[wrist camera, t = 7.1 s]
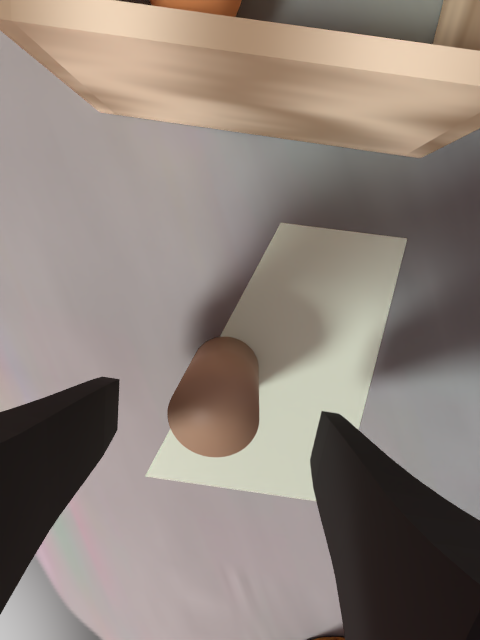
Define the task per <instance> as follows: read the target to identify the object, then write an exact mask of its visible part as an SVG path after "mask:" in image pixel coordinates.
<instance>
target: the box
mask: <svg viewBox="0 0 480 640" xmlns="http://www.w3.org/2000/svg"><path fill="white" fill-rule="evenodd" d="M0 30H1V31H2V32H3V33H4V34H5V35H7V36H8V37H9V38H10V39H12V40H13V41H14V42H15V43H16V44H18V45H19V46H20V47H21V48H22V49H24V50H25V51H26V52H27V53H29V54H30V55H31V56H32V57H33V58H35V59H36V60H37V61H38V62H39V63H41V64H42V65H43V66H44V67H46V68H47V69H48V70H49V71H50V72H52V73H53V74H54V75H55V76H56V77H58V78H59V79H60V80H61V81H62V82H64V83H65V84H66V85H67V86H69V87H70V88H71V89H72V90H73V91H75V92H76V93H77V94H78V95H79V96H81V97H82V98H83V99H84V100H86V101H87V102H88V103H89V104H90V105H92V106H93V107H94V108H95V109H96V110H98V111H99V112H101V113H108V114H115V115H122V116H129V117H136V118H143V119H150V120H157V121H164V122H171V123H178V124H185V125H192V126H199V127H206V128H213V129H220V130H227V131H234V132H241V133H248V134H255V135H262V136H269V137H276V138H283V139H290V140H297V141H304V142H311V143H318V144H324V145H331V146H338V147H345V148H352V149H359V150H366V151H373V152H380V153H387V154H394V155H401V156H408V157H415V158H422V157H424V156H426V155H428V154H430V153H432V152H434V151H436V150H438V149H440V148H442V147H444V146H446V145H448V144H450V143H452V142H454V141H456V140H458V139H460V138H462V137H464V136H466V135H468V134H470V133H472V132H474V131H476V130H478V129H480V0H444V2H443V6H442V10H441V13H440V17H439V21H438V25H437V29H436V33H435V37H434V41H433V44H426V43H419V42H412V41H405V40H397V39H390V38H383V37H376V36H368V35H361V34H354V33H347V32H339V31H332V30H325V29H318V28H311V27H303V26H296V25H289V24H282V23H274V22H267V21H260V20H253V19H246V18H238V17H231V16H224V15H217V14H209V13H202V12H195V11H188V10H181V9H173V8H166V7H159V6H152V5H144V4H137V3H130V2H123V1H119V0H0Z"/></svg>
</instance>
